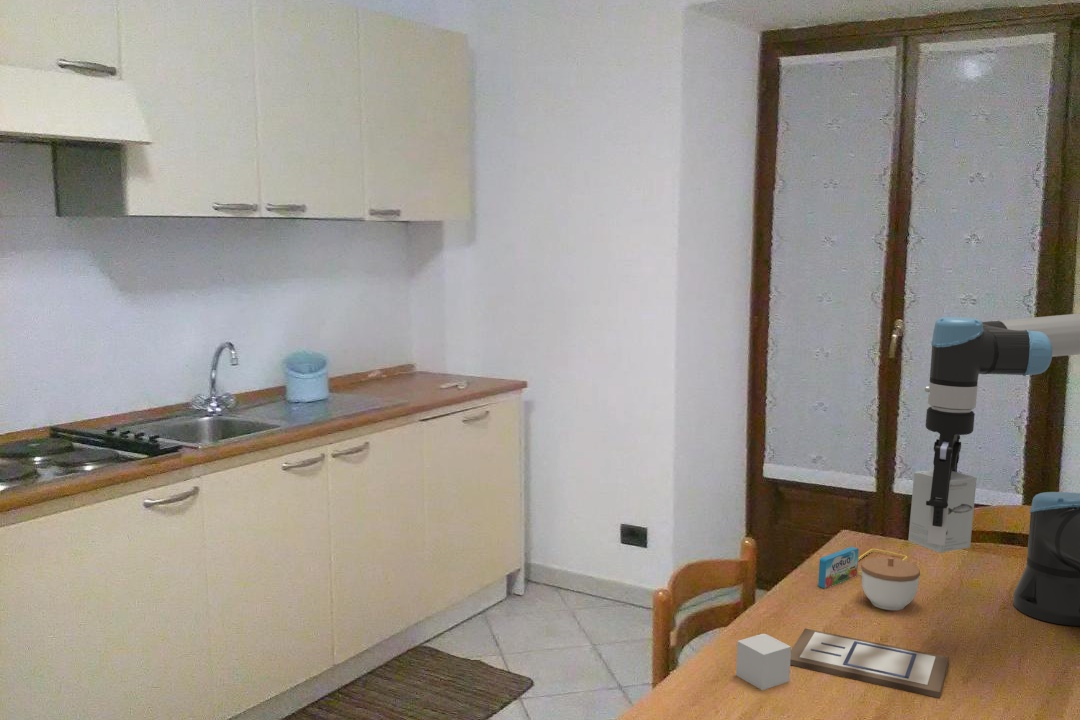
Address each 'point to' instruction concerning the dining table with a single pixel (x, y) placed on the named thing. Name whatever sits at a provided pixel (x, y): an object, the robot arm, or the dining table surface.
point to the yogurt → (838, 567)
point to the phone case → (877, 552)
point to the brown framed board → (870, 662)
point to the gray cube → (763, 661)
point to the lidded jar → (889, 582)
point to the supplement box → (958, 511)
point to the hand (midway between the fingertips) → (939, 535)
